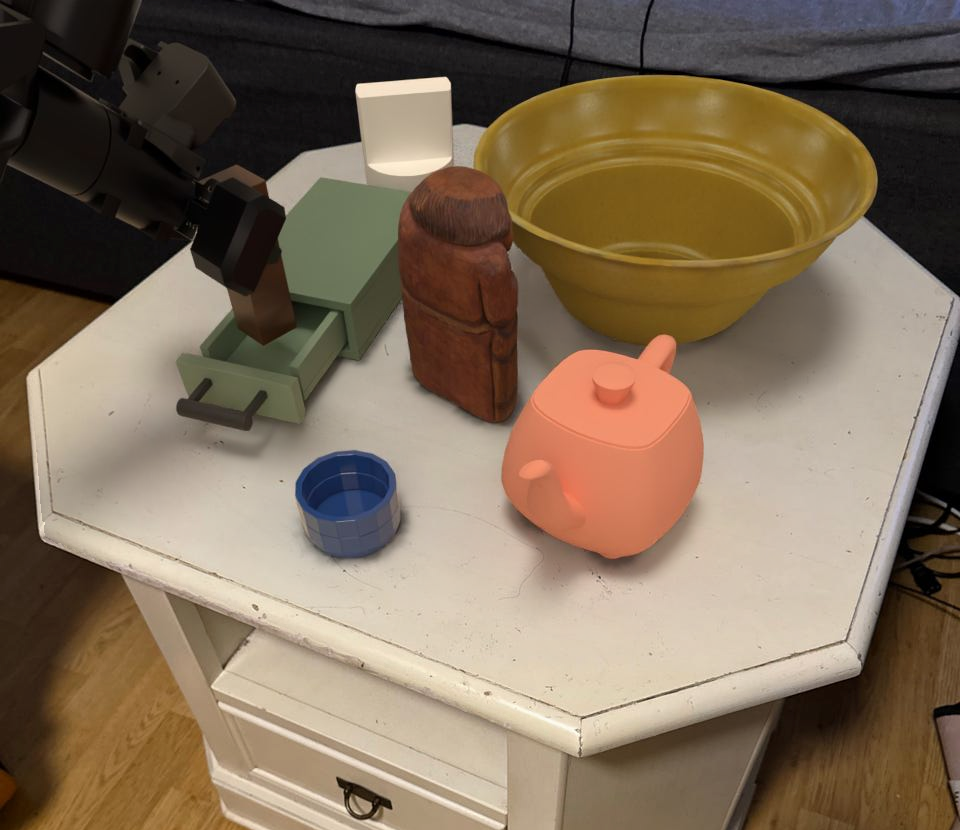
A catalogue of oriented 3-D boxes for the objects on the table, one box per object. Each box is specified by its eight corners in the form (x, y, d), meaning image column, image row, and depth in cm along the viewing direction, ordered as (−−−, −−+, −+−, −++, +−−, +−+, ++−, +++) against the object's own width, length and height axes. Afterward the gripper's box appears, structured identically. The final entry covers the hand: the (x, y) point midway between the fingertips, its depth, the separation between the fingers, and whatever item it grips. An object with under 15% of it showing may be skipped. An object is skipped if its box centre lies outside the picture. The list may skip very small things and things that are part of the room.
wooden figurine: (543, 396, 73) (555, 181, 58) (494, 435, 70) (493, 219, 55) (441, 341, 77) (428, 129, 63) (392, 376, 75) (366, 162, 60)
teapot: (443, 559, 62) (432, 429, 52) (581, 408, 72) (594, 273, 62) (604, 642, 58) (626, 516, 48) (729, 468, 67) (768, 333, 57)
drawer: (276, 458, 68) (266, 420, 64) (162, 430, 70) (146, 392, 67) (384, 304, 79) (379, 266, 76) (283, 285, 81) (274, 246, 78)
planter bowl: (523, 196, 92) (526, 54, 81) (832, 235, 87) (881, 88, 76) (433, 381, 74) (421, 231, 63) (816, 445, 69) (876, 293, 58)
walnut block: (263, 346, 70) (225, 198, 60) (237, 328, 71) (196, 181, 61) (297, 327, 71) (265, 180, 61) (271, 310, 73) (236, 164, 63)
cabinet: (359, 361, 76) (350, 304, 71) (243, 336, 78) (227, 280, 74) (434, 250, 86) (430, 195, 82) (329, 232, 88) (320, 176, 84)
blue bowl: (304, 563, 62) (293, 525, 59) (306, 493, 67) (296, 454, 63) (403, 555, 63) (398, 516, 59) (398, 485, 67) (393, 446, 64)
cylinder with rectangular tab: (450, 187, 93) (445, 63, 84) (461, 231, 88) (456, 104, 78) (368, 195, 93) (352, 70, 83) (373, 239, 87) (358, 112, 78)
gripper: (223, 56, 47) (392, 186, 60) (49, -25, 55) (233, 106, 68) (147, 251, 50) (323, 333, 63) (-8, 148, 58) (179, 241, 71)
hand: (263, 247), depth 66 cm, fingers closed on walnut block, 3 cm apart
